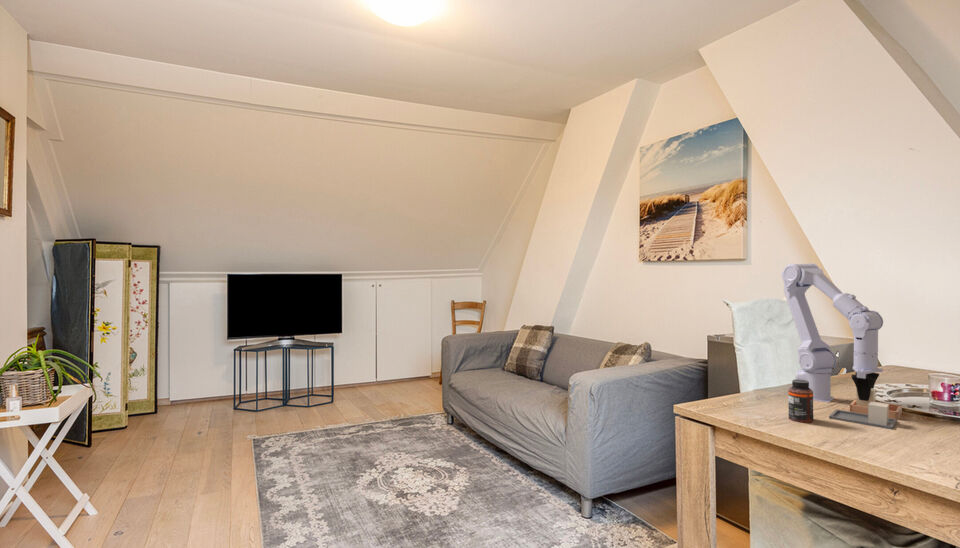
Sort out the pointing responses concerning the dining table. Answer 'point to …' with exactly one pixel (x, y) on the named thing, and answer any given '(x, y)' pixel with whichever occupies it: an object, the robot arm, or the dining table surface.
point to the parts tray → (859, 419)
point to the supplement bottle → (800, 402)
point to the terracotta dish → (893, 409)
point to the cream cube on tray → (878, 413)
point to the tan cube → (871, 399)
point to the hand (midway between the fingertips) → (865, 398)
